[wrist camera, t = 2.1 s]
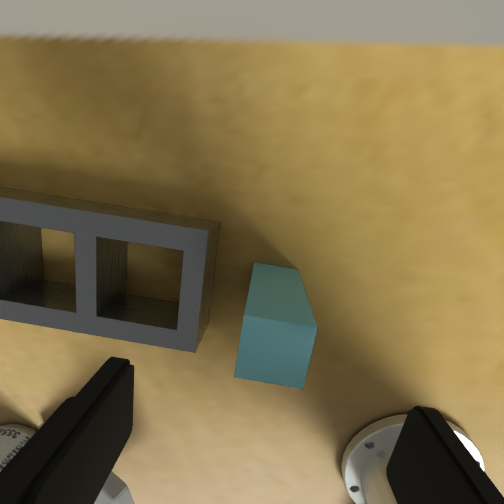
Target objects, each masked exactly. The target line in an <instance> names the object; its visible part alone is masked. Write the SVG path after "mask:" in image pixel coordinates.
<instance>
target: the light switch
mask: <svg viewBox="0 0 504 504" xmlns="http://www.w3.org/2000/svg"><path fill="white" fill-rule="evenodd" d="M46 421H47V420H46ZM46 421H45V422H46ZM45 422H44V423H45ZM44 423H42V424H41V425H40V426H39V428H40V427H41V426H42V425H43V424H44ZM94 504H134V501H133V499H132V496H131V493H130V491H129V488H128V486H127V485H126V484H125V482H123V481H122V480H121V479H120V478H119V477H118V476H116V475H115V474H114V473H113V472H112V471H111V473H110V474H109V476H108V478H107V480H106V482H105V484H104V486H103V488H102V490H101V491H100V493H99V495H98V497H97V499H96V501H95V503H94Z"/></svg>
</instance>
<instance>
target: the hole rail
mask: <svg viewBox="0 0 504 504" xmlns="http://www.w3.org/2000/svg"><path fill="white" fill-rule="evenodd" d="M41 227H42V228H48V229H54V230H60V231H66V232H72V233H74V237H75V275H76V286H75V285H69V284H63V283H57V282H51V281H45V280H44V275H43V259H42V242H41ZM219 227H220V222H213V221H207V220H201V219H195V218H188V217H182V216H176V215H170V214H163V213H157V212H151V211H145V210H139V209H132V208H126V207H120V206H114V205H107V204H101V203H95V202H89V201H82V200H76V199H70V198H64V197H57V196H51V195H45V194H39V193H33V192H26V191H20V190H14V189H8V188H1V187H0V319H4V320H10V321H16V322H22V323H27V324H33V325H39V326H45V327H50V328H56V329H62V330H67V331H73V332H79V333H85V334H90V335H96V336H102V337H108V338H113V339H119V340H125V341H131V342H136V343H142V344H148V345H154V346H159V347H165V348H171V349H177V350H182V351H188V352H194V353H195V352H196V350H197V348H198V346H199V343H200V341H201V339H202V337H203V334H204V332H205V330H206V328H207V325H208V319H209V311H210V303H211V294H212V286H213V277H214V269H215V261H216V252H217V244H218V236H219ZM128 242H133V243H139V244H145V245H151V246H157V247H164V248H170V249H176V250H182V251H184V254H183V266H182V278H181V289H180V301H179V303H175V302H169V301H163V300H157V299H151V298H146V297H140V296H134V295H128V294H126V279H127V243H128Z"/></svg>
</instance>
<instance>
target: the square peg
mask: <svg viewBox="0 0 504 504" xmlns="http://www.w3.org/2000/svg"><path fill="white" fill-rule="evenodd" d="M317 329H318V327H317V324H316V321H315V318H314V315H313V312H312V309H311V306H310V303H309V301H308V298H307V295H306V292H305V289H304V286H303V283H302V280H301V277H300V275H299V272H298V269H293V268H287V267H281V266H275V265H269V264H262V263H256V262H254V266H253V272H252V277H251V282H250V287H249V292H248V297H247V302H246V307H245V312H244V318H243V324H242V330H241V337H240V343H239V349H238V355H237V362H236V368H235V374H234V377H237V378H243V379H248V380H254V381H260V382H265V383H271V384H277V385H282V386H288V387H294V388H299V389H303V387H304V382H305V378H306V374H307V370H308V366H309V362H310V358H311V354H312V350H313V345H314V341H315V337H316V333H317Z"/></svg>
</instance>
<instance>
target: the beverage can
mask: <svg viewBox="0 0 504 504" xmlns="http://www.w3.org/2000/svg"><path fill="white" fill-rule="evenodd" d="M36 432H37V431H35V430H34V429H32V428H29V427H27V426H24V425H19V424H7V425H1V426H0V471H1V470H2V469H3V468H4V467H5V466H6V465H7V464H8V462H9V461H10V460H11V459H12V458H13V457H14V456H15V455H16V454H17V453H18V451H19V450H20V449H21V448H22V447H23V446H24V445H25V444H26V443H27V442H28V441H29V439H30V438H31V437H32V436H33V435H34V434H35V433H36Z"/></svg>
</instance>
